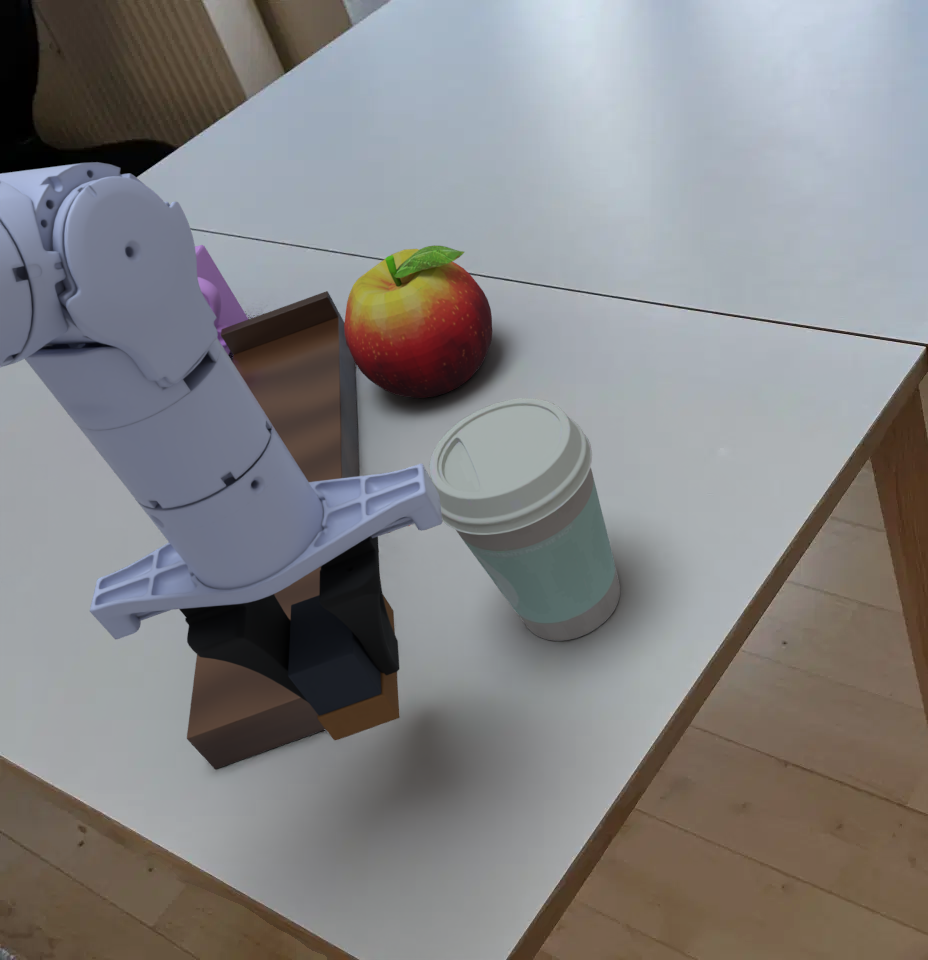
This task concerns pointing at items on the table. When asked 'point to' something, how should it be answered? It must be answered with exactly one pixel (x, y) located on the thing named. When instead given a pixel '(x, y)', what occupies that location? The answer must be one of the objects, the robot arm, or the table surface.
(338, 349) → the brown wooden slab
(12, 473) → the table surface
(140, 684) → the table surface
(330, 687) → the cube on wooden base
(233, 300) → the teapot
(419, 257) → the fruit
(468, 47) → the table surface
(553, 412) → the coffee cup
